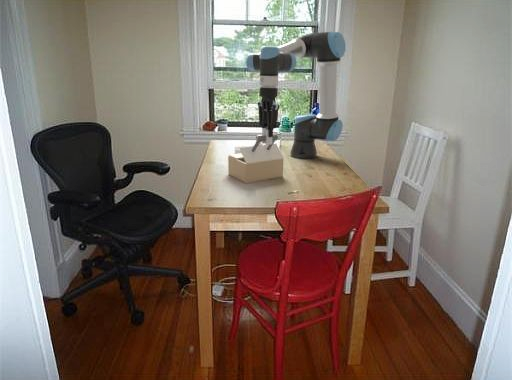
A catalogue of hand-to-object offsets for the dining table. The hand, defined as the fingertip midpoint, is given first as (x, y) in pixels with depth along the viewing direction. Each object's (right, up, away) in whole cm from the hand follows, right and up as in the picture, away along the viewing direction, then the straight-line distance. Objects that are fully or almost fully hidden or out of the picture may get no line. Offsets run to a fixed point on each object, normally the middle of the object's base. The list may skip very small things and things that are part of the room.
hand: (267, 143), depth 155 cm
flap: (-2, -4, +6) cm, 7 cm away
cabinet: (-5, -13, +14) cm, 20 cm away
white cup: (-12, -9, +28) cm, 31 cm away
